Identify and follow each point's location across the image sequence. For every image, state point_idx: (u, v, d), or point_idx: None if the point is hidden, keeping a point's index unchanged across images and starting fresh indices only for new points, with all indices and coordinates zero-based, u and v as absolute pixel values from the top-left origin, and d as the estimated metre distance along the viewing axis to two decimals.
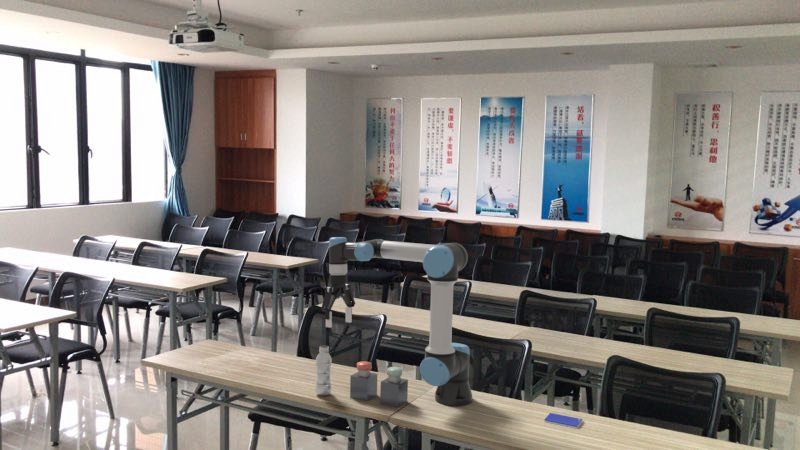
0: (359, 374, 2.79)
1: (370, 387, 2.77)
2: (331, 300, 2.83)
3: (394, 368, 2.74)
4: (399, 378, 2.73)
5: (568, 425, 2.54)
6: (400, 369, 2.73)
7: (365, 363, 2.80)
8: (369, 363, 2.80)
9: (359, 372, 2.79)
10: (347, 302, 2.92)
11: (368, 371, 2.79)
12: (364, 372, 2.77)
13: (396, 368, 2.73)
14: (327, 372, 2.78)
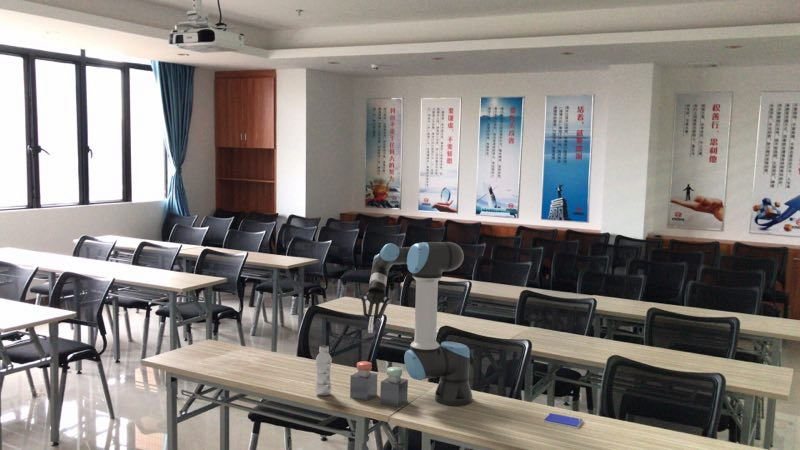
0: (359, 374, 2.79)
1: (370, 387, 2.77)
2: (369, 307, 2.97)
3: (394, 368, 2.74)
4: (399, 378, 2.73)
5: (568, 425, 2.54)
6: (400, 369, 2.73)
7: (365, 363, 2.80)
8: (369, 363, 2.80)
9: (359, 372, 2.79)
10: (375, 311, 2.96)
11: (368, 371, 2.79)
12: (364, 372, 2.77)
13: (396, 368, 2.73)
14: (327, 372, 2.78)
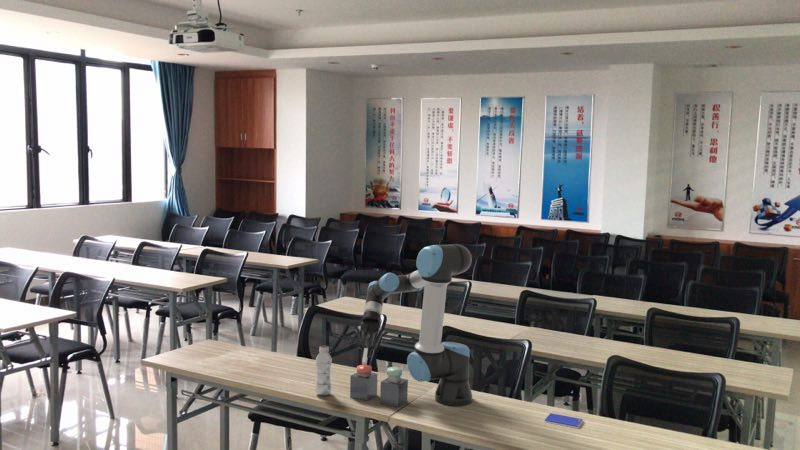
0: None
1: (370, 387, 2.77)
2: None
3: (394, 368, 2.74)
4: (399, 378, 2.73)
5: (569, 425, 2.54)
6: (400, 369, 2.73)
7: (365, 366, 2.80)
8: (369, 367, 2.80)
9: None
10: (369, 342, 2.85)
11: (368, 375, 2.79)
12: (364, 375, 2.78)
13: (396, 368, 2.73)
14: (327, 372, 2.78)
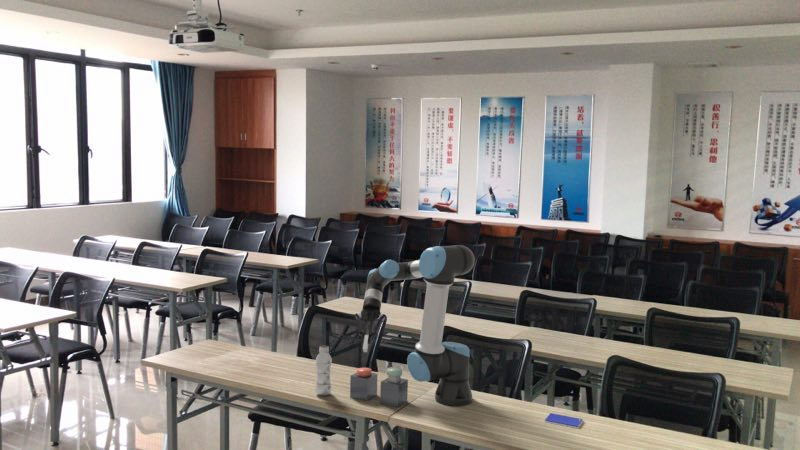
0: None
1: (370, 387, 2.77)
2: (364, 325, 2.86)
3: (394, 368, 2.74)
4: (399, 378, 2.73)
5: (569, 425, 2.54)
6: (400, 369, 2.73)
7: (365, 369, 2.80)
8: (369, 369, 2.80)
9: None
10: None
11: None
12: None
13: (396, 368, 2.73)
14: (327, 372, 2.78)
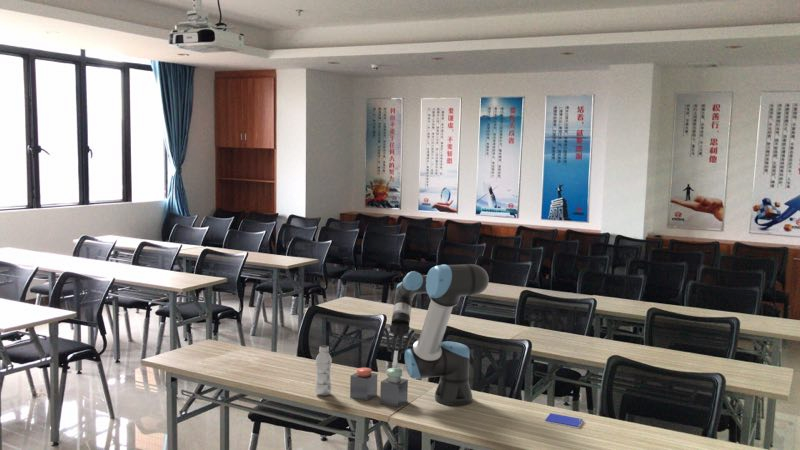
0: None
1: (370, 387, 2.77)
2: (393, 340, 2.80)
3: (394, 369, 2.74)
4: (399, 379, 2.73)
5: (569, 425, 2.54)
6: (400, 370, 2.73)
7: (365, 369, 2.80)
8: (369, 369, 2.80)
9: None
10: (399, 345, 2.79)
11: None
12: None
13: (396, 369, 2.73)
14: (327, 372, 2.78)
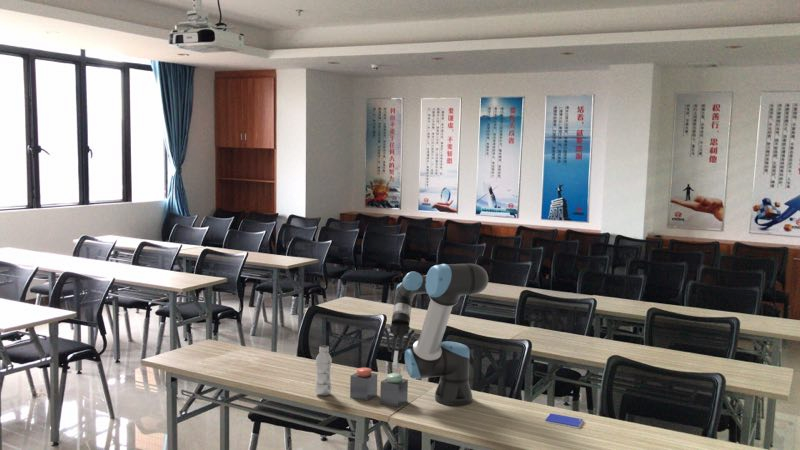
0: None
1: (370, 387, 2.77)
2: (393, 340, 2.80)
3: (394, 374, 2.74)
4: None
5: (569, 425, 2.54)
6: (400, 375, 2.73)
7: (365, 369, 2.80)
8: (369, 369, 2.80)
9: None
10: (399, 345, 2.79)
11: None
12: None
13: (396, 375, 2.73)
14: (327, 372, 2.78)
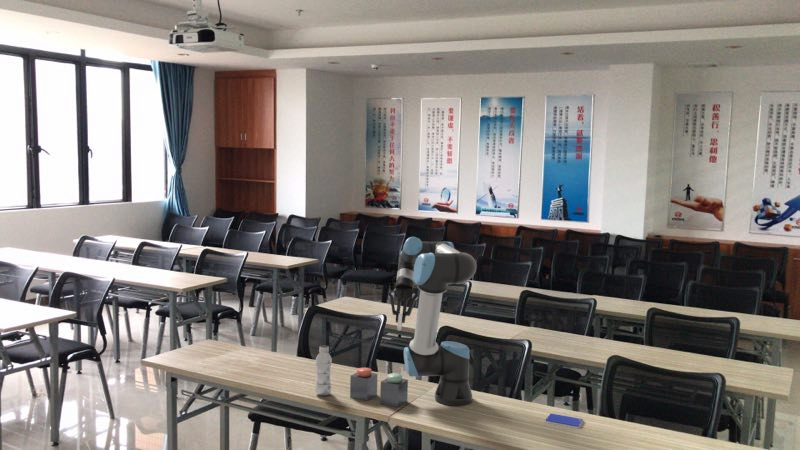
0: None
1: (370, 387, 2.77)
2: None
3: (394, 374, 2.74)
4: None
5: (569, 425, 2.54)
6: (400, 375, 2.73)
7: (365, 369, 2.80)
8: (369, 369, 2.80)
9: None
10: (403, 308, 2.88)
11: None
12: None
13: (396, 375, 2.73)
14: (327, 372, 2.78)
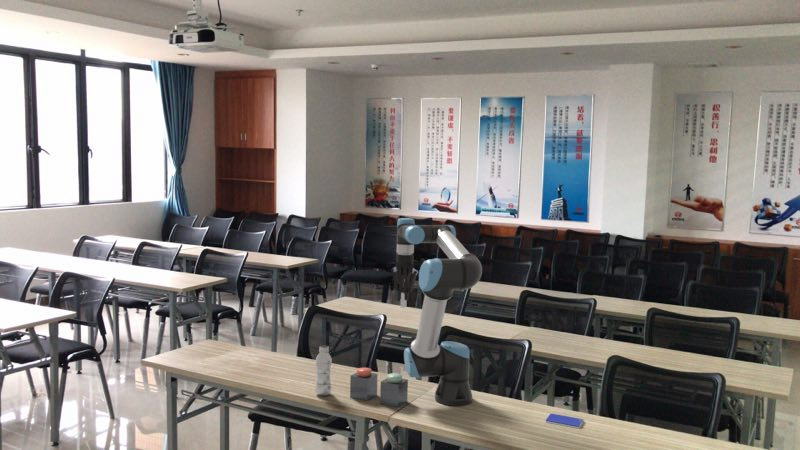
0: None
1: (370, 387, 2.77)
2: None
3: (394, 374, 2.74)
4: None
5: (570, 425, 2.54)
6: (400, 375, 2.73)
7: (365, 369, 2.80)
8: (369, 369, 2.80)
9: None
10: None
11: None
12: None
13: (396, 375, 2.73)
14: (327, 372, 2.78)
